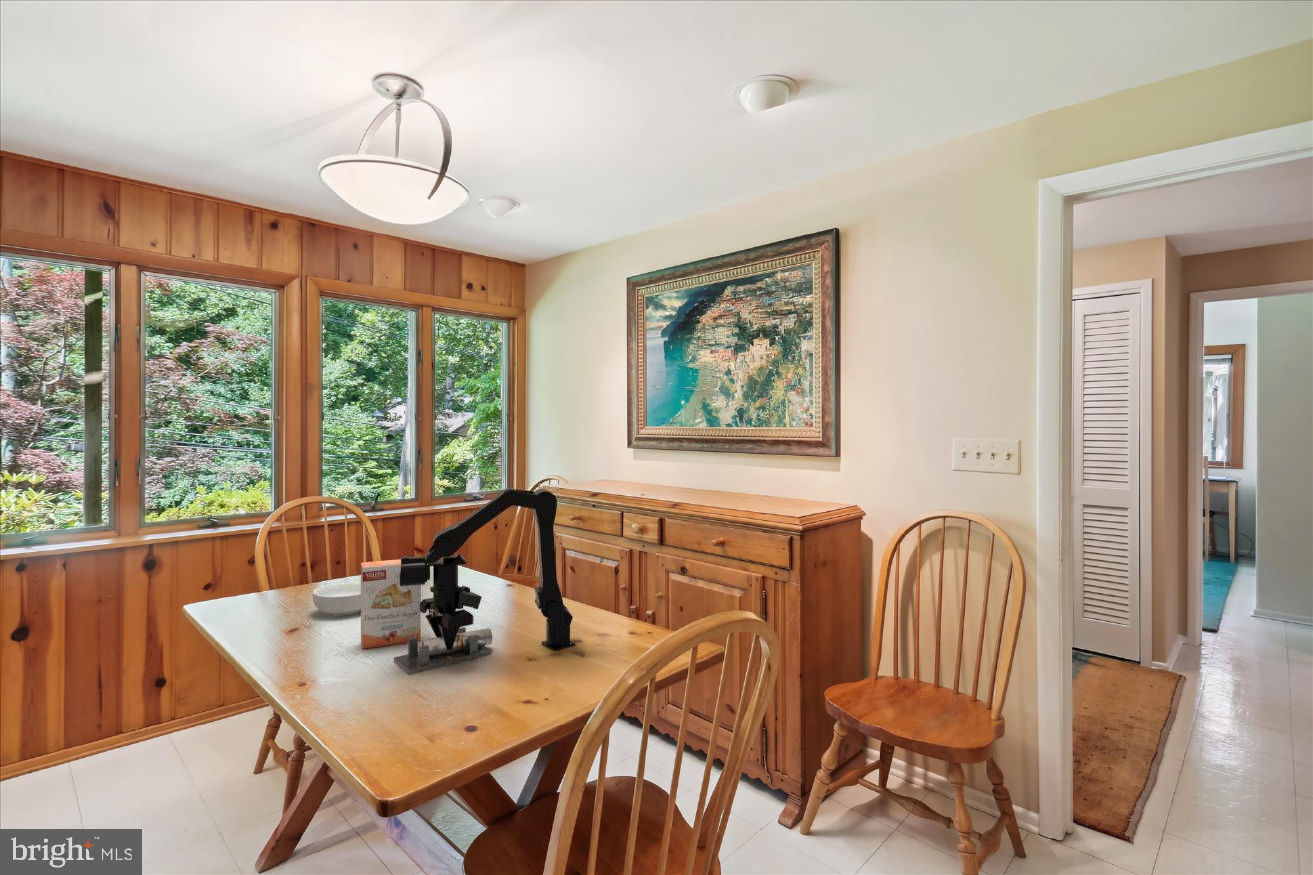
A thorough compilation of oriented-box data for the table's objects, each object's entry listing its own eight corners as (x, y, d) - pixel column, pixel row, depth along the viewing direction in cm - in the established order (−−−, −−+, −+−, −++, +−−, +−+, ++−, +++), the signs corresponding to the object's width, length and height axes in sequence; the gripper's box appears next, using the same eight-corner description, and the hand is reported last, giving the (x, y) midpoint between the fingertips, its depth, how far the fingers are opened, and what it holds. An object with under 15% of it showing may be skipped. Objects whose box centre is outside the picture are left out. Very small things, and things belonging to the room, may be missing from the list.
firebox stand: (491, 653, 157) (491, 633, 157) (408, 674, 144) (408, 652, 144) (473, 642, 165) (473, 623, 165) (393, 661, 152) (393, 640, 152)
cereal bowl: (358, 621, 182) (358, 596, 182) (300, 620, 182) (300, 596, 182) (385, 604, 199) (385, 581, 199) (332, 603, 199) (332, 580, 199)
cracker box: (362, 650, 159) (361, 566, 159) (360, 642, 165) (359, 561, 164) (421, 641, 166) (421, 560, 165) (418, 634, 171) (417, 556, 171)
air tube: (487, 644, 162) (486, 627, 163) (493, 644, 159) (491, 627, 160) (422, 657, 153) (421, 639, 154) (426, 657, 150) (425, 639, 151)
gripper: (494, 585, 153) (494, 650, 153) (461, 570, 167) (461, 630, 167) (448, 593, 146) (448, 661, 146) (418, 577, 160) (418, 639, 160)
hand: (445, 647), depth 155 cm, fingers closed on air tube, 4 cm apart
